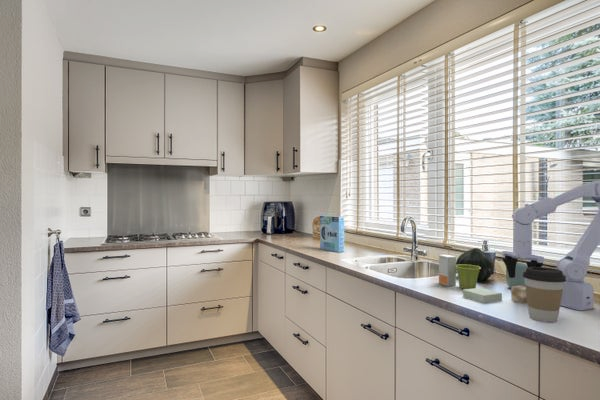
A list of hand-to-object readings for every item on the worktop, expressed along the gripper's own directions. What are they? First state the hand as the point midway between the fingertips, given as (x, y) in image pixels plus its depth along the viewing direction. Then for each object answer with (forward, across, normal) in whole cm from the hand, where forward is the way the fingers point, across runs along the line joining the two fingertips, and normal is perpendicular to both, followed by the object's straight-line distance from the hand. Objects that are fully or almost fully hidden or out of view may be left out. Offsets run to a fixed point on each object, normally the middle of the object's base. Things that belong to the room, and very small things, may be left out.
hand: (521, 279), depth 138 cm
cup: (+8, -14, +16) cm, 23 cm away
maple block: (+8, 0, 0) cm, 8 cm away
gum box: (+8, -133, -4) cm, 133 cm away
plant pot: (+8, -22, -2) cm, 23 cm away
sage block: (+8, -8, -10) cm, 15 cm away
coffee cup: (+8, +16, -12) cm, 21 cm away
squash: (+8, -33, +14) cm, 37 cm away
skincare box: (+8, -30, -5) cm, 31 cm away
